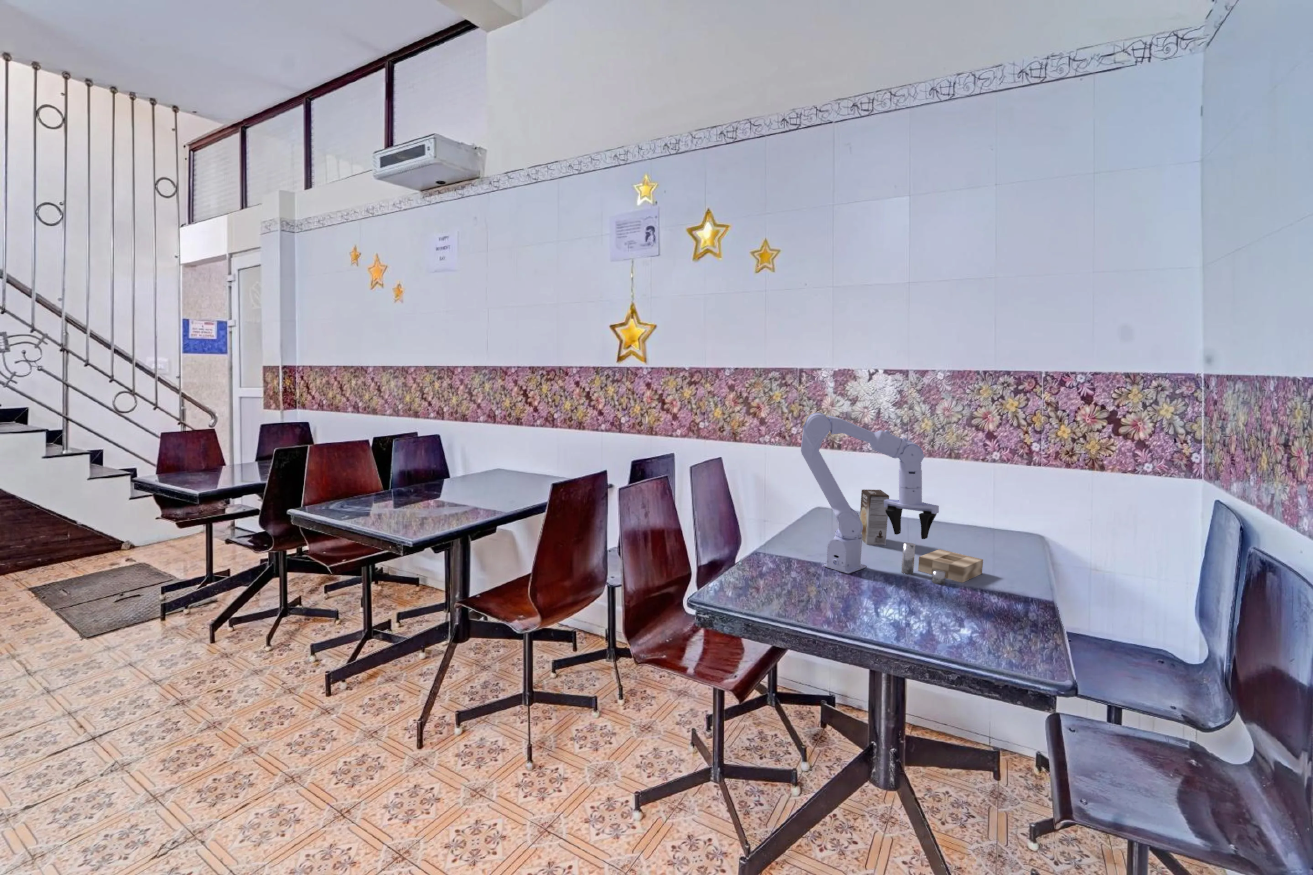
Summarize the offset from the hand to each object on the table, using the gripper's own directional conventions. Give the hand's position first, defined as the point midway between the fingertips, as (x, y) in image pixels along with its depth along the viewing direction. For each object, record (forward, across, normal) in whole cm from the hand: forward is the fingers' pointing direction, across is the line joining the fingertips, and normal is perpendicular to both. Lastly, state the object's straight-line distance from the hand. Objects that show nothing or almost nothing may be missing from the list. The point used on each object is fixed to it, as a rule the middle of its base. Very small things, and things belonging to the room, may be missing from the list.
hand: (910, 536), depth 170 cm
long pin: (+10, 0, +1) cm, 10 cm away
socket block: (+11, -7, -9) cm, 15 cm away
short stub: (+10, -8, +2) cm, 14 cm away
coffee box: (+10, +23, -20) cm, 32 cm away
